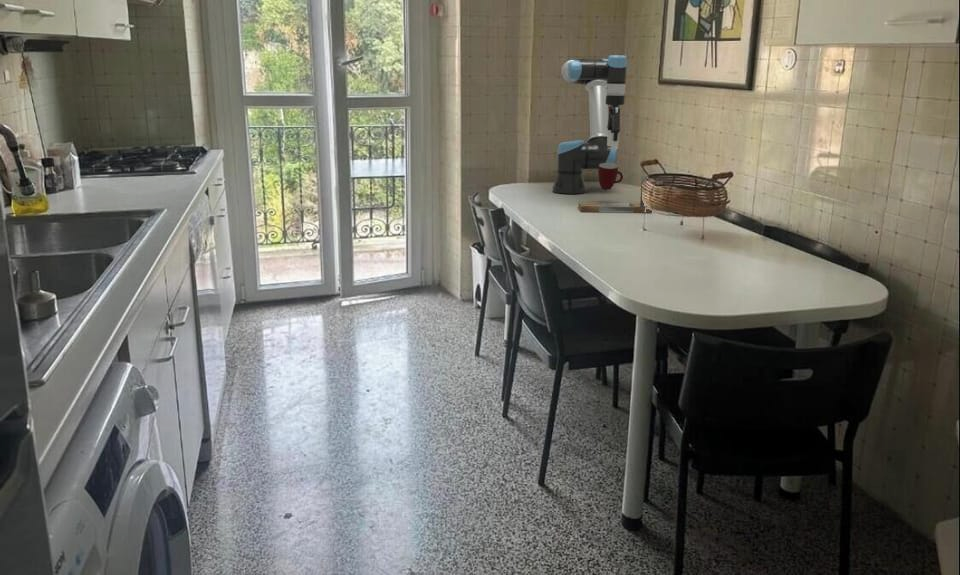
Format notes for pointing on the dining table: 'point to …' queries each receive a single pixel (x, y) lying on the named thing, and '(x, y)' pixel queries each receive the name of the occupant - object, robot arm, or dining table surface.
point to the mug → (608, 175)
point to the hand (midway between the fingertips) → (612, 147)
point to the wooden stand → (632, 206)
